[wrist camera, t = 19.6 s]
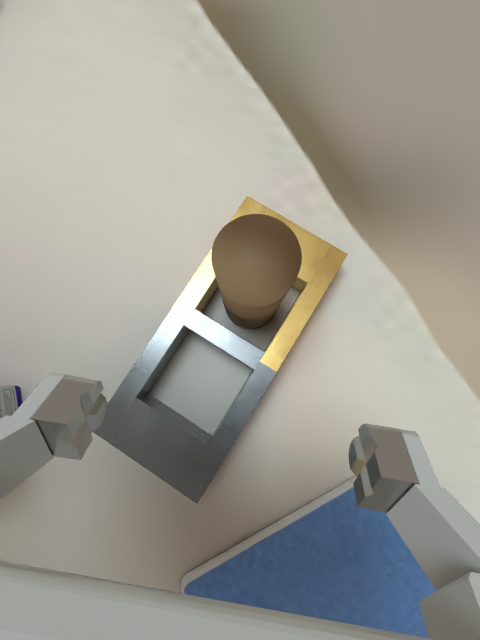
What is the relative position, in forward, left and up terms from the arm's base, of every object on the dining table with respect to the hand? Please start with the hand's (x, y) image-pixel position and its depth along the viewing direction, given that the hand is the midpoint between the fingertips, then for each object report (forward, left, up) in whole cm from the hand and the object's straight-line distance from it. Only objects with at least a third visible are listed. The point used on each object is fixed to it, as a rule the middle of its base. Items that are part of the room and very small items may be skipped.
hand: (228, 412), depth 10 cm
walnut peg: (+6, +3, -17) cm, 18 cm away
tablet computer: (-10, -14, -17) cm, 25 cm away
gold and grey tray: (+2, +3, -17) cm, 17 cm away
